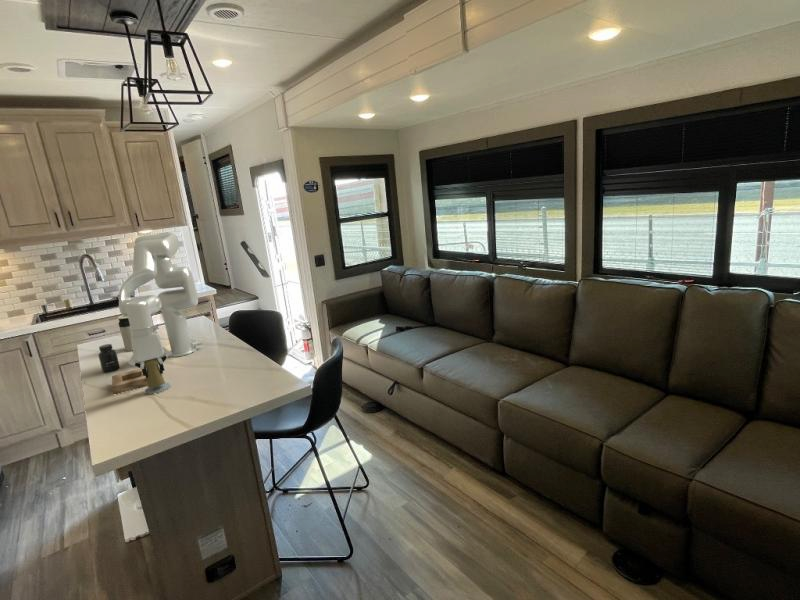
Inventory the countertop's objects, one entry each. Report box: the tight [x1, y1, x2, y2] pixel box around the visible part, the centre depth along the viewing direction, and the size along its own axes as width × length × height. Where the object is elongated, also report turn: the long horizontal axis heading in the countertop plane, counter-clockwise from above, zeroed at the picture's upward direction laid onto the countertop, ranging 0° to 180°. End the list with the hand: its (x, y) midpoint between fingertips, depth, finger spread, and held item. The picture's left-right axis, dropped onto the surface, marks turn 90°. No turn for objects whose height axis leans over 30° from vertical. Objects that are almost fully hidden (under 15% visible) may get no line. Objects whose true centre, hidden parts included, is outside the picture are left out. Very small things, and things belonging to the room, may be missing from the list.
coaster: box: [144, 382, 171, 395], centre depth 171 cm, size 9×9×1 cm
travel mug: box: [117, 314, 133, 352], centre depth 222 cm, size 8×8×18 cm
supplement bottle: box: [98, 343, 121, 374], centre depth 195 cm, size 7×7×12 cm
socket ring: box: [111, 368, 148, 395], centre depth 178 cm, size 14×14×4 cm
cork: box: [144, 358, 166, 388], centre depth 169 cm, size 6×6×11 cm
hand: (154, 374), depth 169 cm, fingers closed on cork, 4 cm apart
